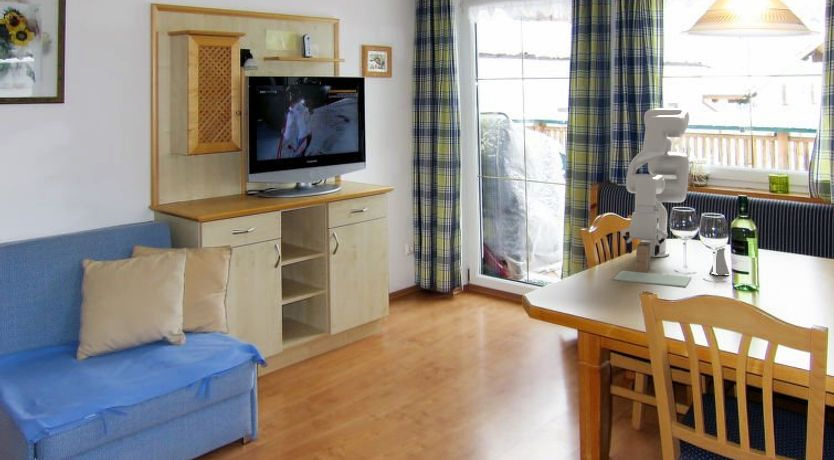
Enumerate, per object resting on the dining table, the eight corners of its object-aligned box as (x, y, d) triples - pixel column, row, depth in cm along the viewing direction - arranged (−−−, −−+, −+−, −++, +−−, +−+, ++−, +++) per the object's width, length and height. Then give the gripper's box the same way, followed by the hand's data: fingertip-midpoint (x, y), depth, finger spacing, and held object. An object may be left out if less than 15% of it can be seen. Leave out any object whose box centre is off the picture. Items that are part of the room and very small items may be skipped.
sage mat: (621, 271, 289) (621, 270, 289) (691, 278, 277) (691, 277, 277) (614, 280, 277) (614, 278, 277) (685, 287, 266) (686, 285, 266)
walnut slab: (639, 266, 296) (640, 241, 294) (650, 267, 294) (651, 242, 292) (635, 271, 289) (636, 245, 287) (646, 272, 287) (647, 246, 285)
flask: (726, 271, 286) (728, 245, 284) (732, 276, 279) (734, 250, 277) (706, 271, 287) (708, 245, 285) (711, 276, 280) (713, 250, 278)
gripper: (670, 209, 286) (668, 254, 289) (623, 206, 294) (622, 250, 297) (667, 212, 279) (664, 257, 282) (619, 209, 287) (617, 253, 290)
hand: (643, 254), depth 290 cm, fingers open, 9 cm apart
